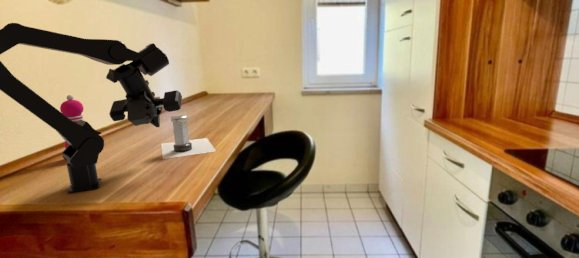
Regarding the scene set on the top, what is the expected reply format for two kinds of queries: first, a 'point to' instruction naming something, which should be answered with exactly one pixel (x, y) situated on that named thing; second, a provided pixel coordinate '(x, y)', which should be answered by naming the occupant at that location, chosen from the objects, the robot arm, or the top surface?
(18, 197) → the top surface
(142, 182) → the top surface
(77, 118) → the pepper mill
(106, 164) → the top surface
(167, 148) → the felt mat
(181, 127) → the silver and black cylinder
